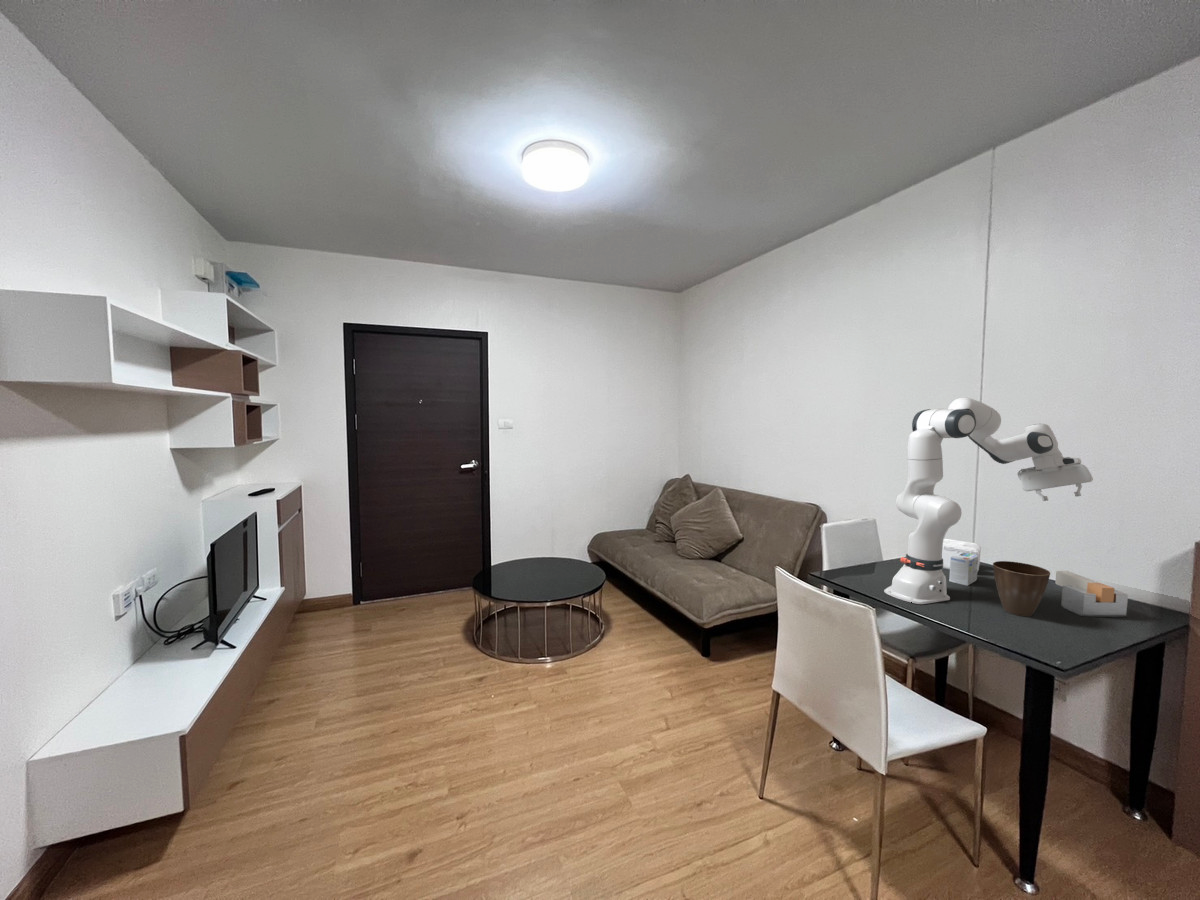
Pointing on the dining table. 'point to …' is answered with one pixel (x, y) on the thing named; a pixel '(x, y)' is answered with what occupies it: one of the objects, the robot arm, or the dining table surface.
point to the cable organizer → (958, 550)
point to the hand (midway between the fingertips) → (1061, 498)
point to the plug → (1086, 585)
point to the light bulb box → (963, 568)
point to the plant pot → (1020, 586)
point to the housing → (1093, 603)
